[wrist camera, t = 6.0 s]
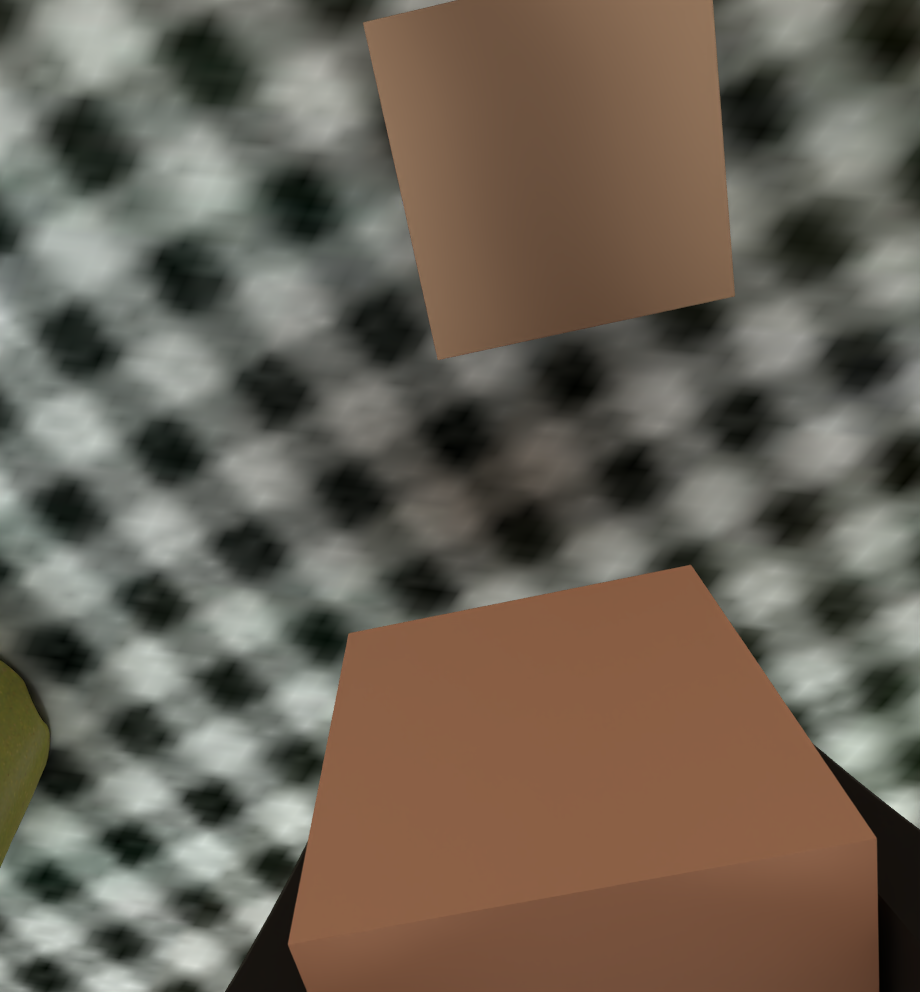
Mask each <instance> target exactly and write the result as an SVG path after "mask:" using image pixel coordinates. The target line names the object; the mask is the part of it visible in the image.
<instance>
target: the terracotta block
mask: <svg viewBox="0 0 920 992" xmlns="http://www.w3.org/2000/svg"><path fill="white" fill-rule="evenodd" d="M288 946H289V949H290V951H291V954H292V956H293V958H294V961H295V963H296V966H297V968H298V971H299V973H300V975H301V978H302V980H303V983H304V985H305V988H306V990H307V992H879V947H878V884H877V838H876V836H875V835H874V833H873V832H872V831H871V829H870V828H869V826H868V825H867V823H866V822H865V820H864V819H863V817H862V816H861V814H860V813H859V811H858V810H857V808H856V807H855V806H854V804H853V803H852V801H851V800H850V798H849V797H848V795H847V794H846V792H845V791H844V789H843V788H842V786H841V785H840V783H839V782H838V780H837V779H836V778H835V776H834V775H833V773H832V772H831V770H830V769H829V767H828V766H827V764H826V763H825V761H824V760H823V758H822V757H821V755H820V754H819V753H818V751H817V750H816V748H815V747H814V745H813V744H812V742H811V741H810V739H809V738H808V736H807V735H806V733H805V732H804V730H803V729H802V728H801V726H800V725H799V723H798V722H797V720H796V719H795V717H794V716H793V714H792V713H791V711H790V710H789V708H788V707H787V705H786V704H785V703H784V701H783V700H782V698H781V697H780V695H779V694H778V692H777V691H776V689H775V688H774V686H773V685H772V683H771V682H770V680H769V679H768V677H767V676H766V675H765V673H764V672H763V670H762V669H761V667H760V666H759V664H758V663H757V661H756V660H755V658H754V657H753V655H752V654H751V652H750V651H749V650H748V648H747V647H746V645H745V644H744V642H743V641H742V639H741V638H740V636H739V635H738V633H737V632H736V630H735V629H734V627H733V626H732V625H731V623H730V622H729V620H728V619H727V617H726V616H725V614H724V613H723V611H722V610H721V608H720V607H719V605H718V604H717V602H716V601H715V599H714V598H713V597H712V595H711V594H710V592H709V591H708V589H707V588H706V586H705V585H704V583H703V582H702V580H701V579H700V577H699V576H698V574H697V573H696V572H695V570H694V569H693V567H692V566H691V565H688V566H683V567H678V568H673V569H668V570H663V571H658V572H653V573H648V574H643V575H638V576H633V577H628V578H623V579H618V580H613V581H608V582H603V583H598V584H593V585H588V586H583V587H578V588H573V589H568V590H563V591H558V592H553V593H548V594H543V595H538V596H533V597H528V598H523V599H518V600H513V601H508V602H503V603H498V604H493V605H488V606H483V607H478V608H473V609H468V610H463V611H458V612H453V613H448V614H443V615H438V616H433V617H428V618H423V619H418V620H413V621H408V622H403V623H398V624H393V625H388V626H383V627H378V628H373V629H368V630H363V631H358V632H353V633H349V634H348V639H347V645H346V650H345V655H344V660H343V665H342V670H341V675H340V680H339V685H338V691H337V696H336V701H335V706H334V711H333V716H332V721H331V726H330V731H329V737H328V742H327V747H326V752H325V757H324V762H323V767H322V772H321V777H320V783H319V788H318V793H317V798H316V803H315V808H314V813H313V818H312V823H311V829H310V834H309V839H308V844H307V849H306V854H305V859H304V864H303V869H302V875H301V880H300V885H299V890H298V895H297V900H296V905H295V910H294V915H293V921H292V926H291V931H290V936H289V941H288Z"/></svg>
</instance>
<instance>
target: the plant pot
mask: <svg viewBox="0 0 920 992" xmlns="http://www.w3.org/2000/svg"><path fill="white" fill-rule="evenodd" d="M49 745H50V734H49V729H48V726H47V725H46V724H45V723H44V722H43V720H42V719H41V718H40V716H39V714H38V712H37V710H36V708H35V706H34V704H33V702H32V700H31V698H30V695H29V693H28V690H27V687H26V685H25V683H24V681H23V680H22V678H21V677H20V676H19V675H18V674H17V673H16V672H15V671H13V670H12V669H11V668H10V667H9V666H8V665H6V664H5V663H4V662H2V661H1V660H0V867H1V865H2V862H3V860H4V858H5V855H6V853H7V851H8V849H9V846H10V844H11V842H12V839H13V837H14V835H15V833H16V831H17V829H18V827H19V825H20V822H21V820H22V818H23V816H24V814H25V812H26V809H27V807H28V805H29V803H30V801H31V798H32V796H33V794H34V791H35V789H36V787H37V784H38V782H39V779H40V777H41V775H42V772H43V770H44V768H45V765H46V762H47V759H48V753H49Z"/></svg>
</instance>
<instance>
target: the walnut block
mask: <svg viewBox="0 0 920 992" xmlns="http://www.w3.org/2000/svg"><path fill="white" fill-rule="evenodd" d="M363 24H364V29H365V33H366V38H367V42H368V47H369V52H370V56H371V61H372V65H373V70H374V74H375V79H376V83H377V88H378V92H379V97H380V101H381V106H382V110H383V115H384V119H385V124H386V128H387V133H388V137H389V142H390V146H391V151H392V155H393V160H394V164H395V169H396V173H397V178H398V182H399V187H400V191H401V196H402V201H403V205H404V210H405V214H406V219H407V223H408V228H409V232H410V237H411V241H412V246H413V250H414V255H415V259H416V264H417V268H418V273H419V277H420V282H421V286H422V291H423V295H424V300H425V304H426V309H427V313H428V318H429V322H430V327H431V331H432V336H433V340H434V345H435V350H436V354H437V359H438V360H440V359H445V358H450V357H454V356H459V355H464V354H468V353H473V352H478V351H482V350H487V349H492V348H496V347H501V346H506V345H510V344H515V343H520V342H524V341H529V340H534V339H538V338H543V337H548V336H552V335H557V334H562V333H566V332H571V331H575V330H580V329H585V328H589V327H594V326H599V325H603V324H608V323H613V322H617V321H622V320H627V319H631V318H636V317H641V316H645V315H650V314H655V313H659V312H664V311H669V310H673V309H678V308H683V307H687V306H692V305H697V304H701V303H706V302H710V301H715V300H720V299H724V298H729V297H734V296H735V291H734V278H733V264H732V251H731V238H730V225H729V211H728V198H727V185H726V171H725V158H724V145H723V132H722V118H721V105H720V92H719V78H718V65H717V52H716V38H715V25H714V12H713V0H456V1H452V2H448V3H444V4H439V5H435V6H431V7H427V8H423V9H418V10H414V11H410V12H406V13H401V14H397V15H393V16H389V17H385V18H380V19H376V20H372V21H368V22H363Z"/></svg>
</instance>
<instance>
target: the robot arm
mask: <svg viewBox="0 0 920 992" xmlns="http://www.w3.org/2000/svg"><path fill="white" fill-rule="evenodd" d="M812 744H813V743H812ZM813 745H814V744H813ZM814 747H815V748H816V750H817V751H818V753H819V754H820V755H821V757H822V758H823V760H824V761H825V763H826V764H827V766H828V767H829V769H830V770H831V772H832V773H833V775H834V776H835V778H836V779H837V780H838V782H839V783H840V785H841V786H842V788H843V789H844V791H845V792H846V794H847V795H848V797H849V798H850V800H851V801H852V803H853V804H854V806H855V807H856V808H857V810H858V811H859V813H860V814H861V816H862V817H863V819H864V820H865V822H866V823H867V825H868V826H869V828H870V829H871V831H872V832H873V833H874V835H875V836H876V838H877V884H878V947H879V992H920V829H918V828H917V827H916V826H914V825H913V824H912V823H910V822H909V821H908V820H906V819H905V818H904V817H903V816H901V815H900V814H899V813H897V812H896V811H895V810H894V809H892V808H891V807H890V806H888V805H887V804H886V803H885V802H883V801H882V800H881V799H880V798H878V797H877V796H876V795H875V794H873V793H872V792H871V791H870V790H868V789H867V788H866V787H865V786H863V785H862V784H861V783H860V782H858V781H857V780H856V779H855V778H854V777H852V776H851V775H850V774H849V773H847V772H846V771H845V770H844V769H843V768H841V767H840V766H839V765H838V764H837V763H835V762H834V761H833V760H832V759H831V758H829V757H828V756H827V755H826V754H825V753H823V752H822V751H821V750H820V749H819V748H817V747H816V746H815V745H814ZM307 844H308V842H307ZM307 844H306V846H305V848H304V850H303V852H302V854H301V856H300V858H299V860H298V862H297V864H296V866H295V867H294V869H293V871H292V873H291V875H290V877H289V879H288V881H287V883H286V885H285V887H284V888H283V890H282V892H281V894H280V896H279V898H278V900H277V901H276V903H275V905H274V907H273V909H272V911H271V913H270V914H269V916H268V918H267V920H266V922H265V923H264V925H263V927H262V929H261V930H260V932H259V934H258V936H257V937H256V939H255V941H254V943H253V945H252V946H251V948H250V950H249V952H248V953H247V955H246V957H245V959H244V960H243V962H242V964H241V966H240V967H239V969H238V971H237V973H236V974H235V976H234V978H233V979H232V981H231V983H230V984H229V986H228V988H227V989H226V991H225V992H307V990H306V988H305V985H304V983H303V980H302V978H301V975H300V973H299V971H298V968H297V966H296V963H295V961H294V958H293V956H292V954H291V951H290V949H289V946H288V941H289V936H290V931H291V926H292V921H293V915H294V910H295V905H296V900H297V895H298V890H299V885H300V880H301V875H302V869H303V864H304V859H305V854H306V849H307Z"/></svg>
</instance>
